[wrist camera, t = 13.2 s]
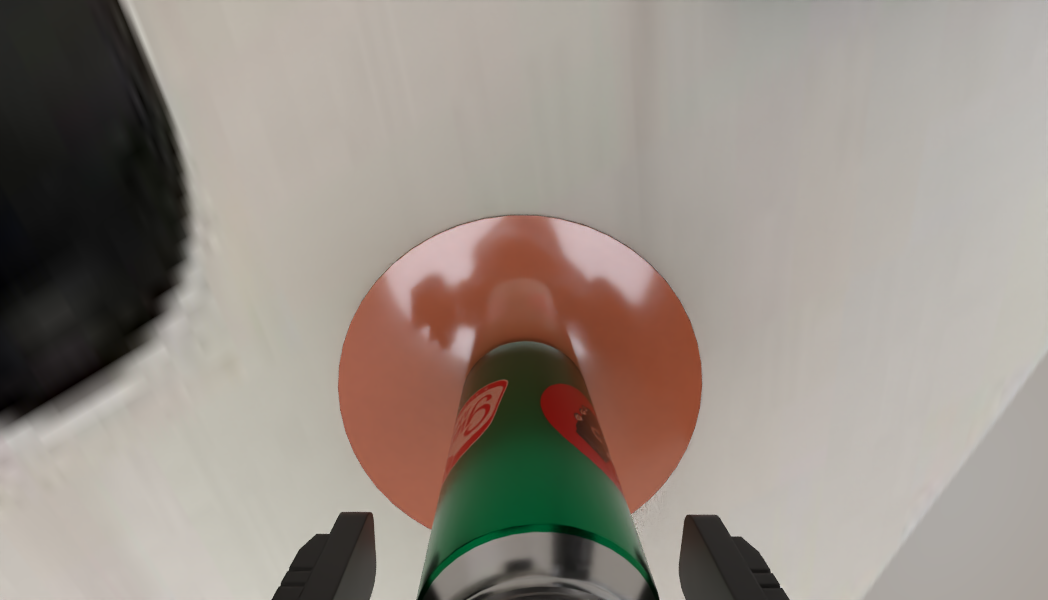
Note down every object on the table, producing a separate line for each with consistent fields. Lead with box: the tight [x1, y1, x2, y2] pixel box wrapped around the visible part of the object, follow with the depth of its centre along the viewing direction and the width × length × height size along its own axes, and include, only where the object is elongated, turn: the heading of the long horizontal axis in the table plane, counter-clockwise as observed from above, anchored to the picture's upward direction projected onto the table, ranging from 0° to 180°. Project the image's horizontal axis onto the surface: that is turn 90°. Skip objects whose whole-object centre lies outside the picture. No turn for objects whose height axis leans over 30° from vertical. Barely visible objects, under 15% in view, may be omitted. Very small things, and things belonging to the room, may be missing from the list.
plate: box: [338, 215, 702, 530], centre depth 21 cm, size 15×15×1 cm
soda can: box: [416, 341, 659, 600], centre depth 15 cm, size 5×5×12 cm
